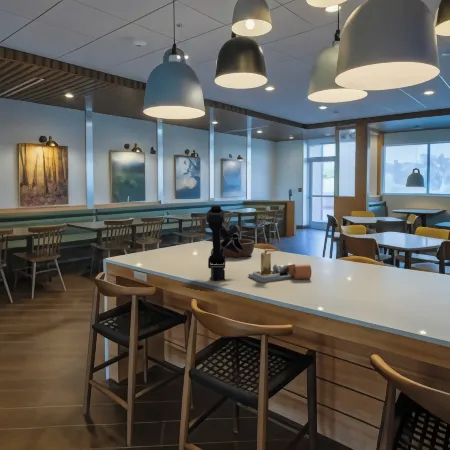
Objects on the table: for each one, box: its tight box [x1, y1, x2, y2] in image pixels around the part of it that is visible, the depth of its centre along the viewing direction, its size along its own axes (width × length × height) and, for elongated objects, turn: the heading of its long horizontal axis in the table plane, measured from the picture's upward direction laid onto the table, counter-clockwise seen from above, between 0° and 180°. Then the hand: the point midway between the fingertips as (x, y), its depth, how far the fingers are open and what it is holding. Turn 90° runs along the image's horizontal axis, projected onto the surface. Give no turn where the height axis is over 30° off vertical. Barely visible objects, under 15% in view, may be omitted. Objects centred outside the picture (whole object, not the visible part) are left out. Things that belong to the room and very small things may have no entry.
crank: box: [287, 263, 312, 280], centre depth 210 cm, size 20×8×8 cm, turn 7°
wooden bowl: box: [220, 238, 255, 259], centre depth 270 cm, size 25×25×10 cm
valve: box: [259, 248, 275, 276], centre depth 204 cm, size 8×7×14 cm
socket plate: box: [247, 263, 295, 284], centre depth 206 cm, size 20×14×7 cm
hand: (240, 251), depth 211 cm, fingers open, 9 cm apart
